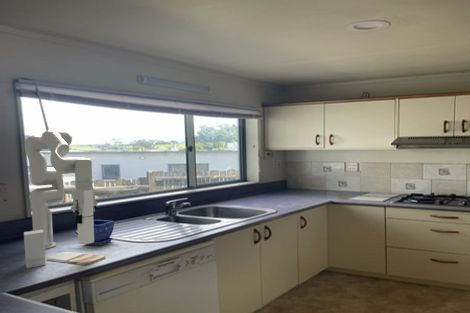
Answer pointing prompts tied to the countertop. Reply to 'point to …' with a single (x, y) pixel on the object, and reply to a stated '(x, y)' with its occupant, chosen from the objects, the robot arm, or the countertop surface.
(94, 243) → the flower pot
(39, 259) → the skincare box
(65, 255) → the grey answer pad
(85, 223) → the cylindrical container
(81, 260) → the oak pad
